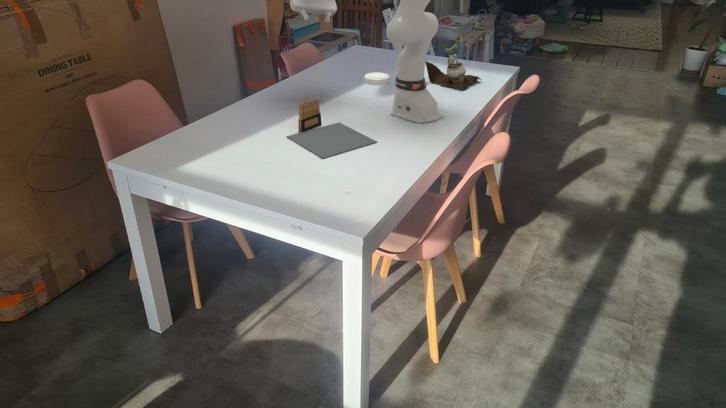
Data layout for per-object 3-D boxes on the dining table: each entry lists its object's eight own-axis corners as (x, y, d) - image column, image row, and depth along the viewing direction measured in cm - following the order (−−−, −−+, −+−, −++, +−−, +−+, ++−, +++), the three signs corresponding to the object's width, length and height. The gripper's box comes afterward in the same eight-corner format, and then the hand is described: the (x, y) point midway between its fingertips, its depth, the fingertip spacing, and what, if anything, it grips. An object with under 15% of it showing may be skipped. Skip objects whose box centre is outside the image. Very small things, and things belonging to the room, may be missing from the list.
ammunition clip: (301, 132, 200) (300, 102, 194) (298, 131, 201) (296, 101, 195) (321, 125, 207) (320, 95, 201) (318, 123, 208) (317, 94, 202)
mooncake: (387, 78, 263) (388, 71, 261) (389, 85, 253) (389, 78, 251) (363, 78, 263) (363, 71, 261) (364, 86, 252) (364, 78, 251)
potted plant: (465, 96, 246) (453, 44, 235) (431, 98, 258) (418, 49, 246) (483, 79, 259) (473, 29, 247) (449, 82, 271) (438, 34, 259)
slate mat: (377, 142, 193) (377, 141, 192) (322, 159, 180) (322, 158, 180) (339, 123, 209) (339, 122, 209) (286, 137, 196) (286, 136, 196)
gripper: (290, -17, 209) (297, 14, 207) (334, -11, 221) (342, 18, 218) (284, -7, 215) (291, 23, 212) (327, -2, 226) (335, 27, 223)
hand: (317, 21), depth 215 cm, fingers open, 8 cm apart
